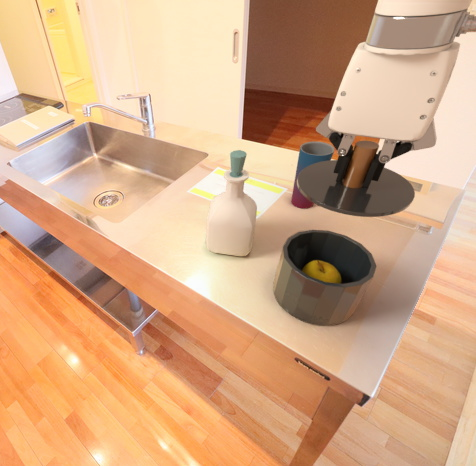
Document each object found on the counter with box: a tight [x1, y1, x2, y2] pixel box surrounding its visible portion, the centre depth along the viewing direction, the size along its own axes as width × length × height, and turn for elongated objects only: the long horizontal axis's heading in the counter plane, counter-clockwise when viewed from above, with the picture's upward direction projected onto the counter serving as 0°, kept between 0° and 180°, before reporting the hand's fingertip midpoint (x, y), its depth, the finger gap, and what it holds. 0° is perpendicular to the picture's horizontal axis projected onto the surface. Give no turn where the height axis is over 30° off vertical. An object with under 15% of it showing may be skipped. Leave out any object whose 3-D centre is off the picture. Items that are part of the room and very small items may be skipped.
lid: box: [297, 140, 416, 218], centre depth 44 cm, size 14×14×7 cm
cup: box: [290, 141, 336, 210], centre depth 76 cm, size 7×7×15 cm
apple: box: [302, 260, 341, 284], centre depth 57 cm, size 6×6×8 cm
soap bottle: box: [205, 149, 258, 257], centre depth 66 cm, size 10×10×23 cm
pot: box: [272, 229, 377, 327], centre depth 57 cm, size 13×13×10 cm
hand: (353, 179), depth 45 cm, fingers closed on lid, 2 cm apart
